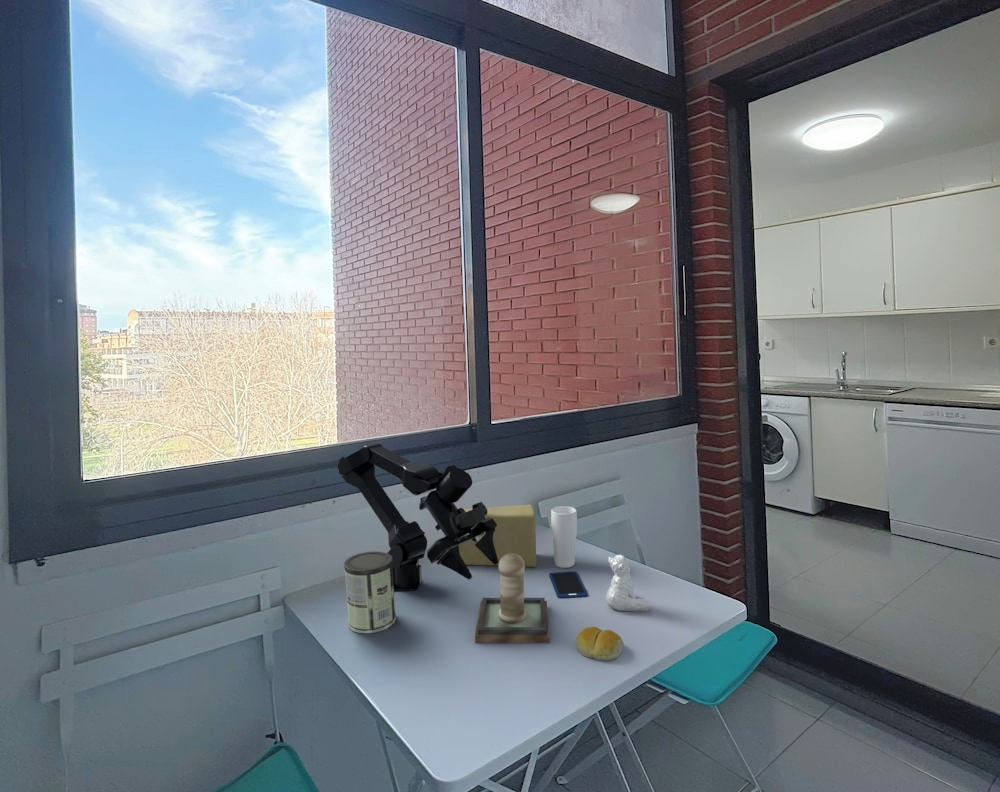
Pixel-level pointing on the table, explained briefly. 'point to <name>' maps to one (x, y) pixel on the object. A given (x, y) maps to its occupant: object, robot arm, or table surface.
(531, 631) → the picture frame
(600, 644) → the bread roll
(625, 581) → the sitting furry creature
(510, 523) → the cheese
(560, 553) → the drinking glass
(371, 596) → the coffee can
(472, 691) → the table surface
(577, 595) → the cell phone
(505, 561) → the beige round-topped cylinder
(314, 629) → the table surface
